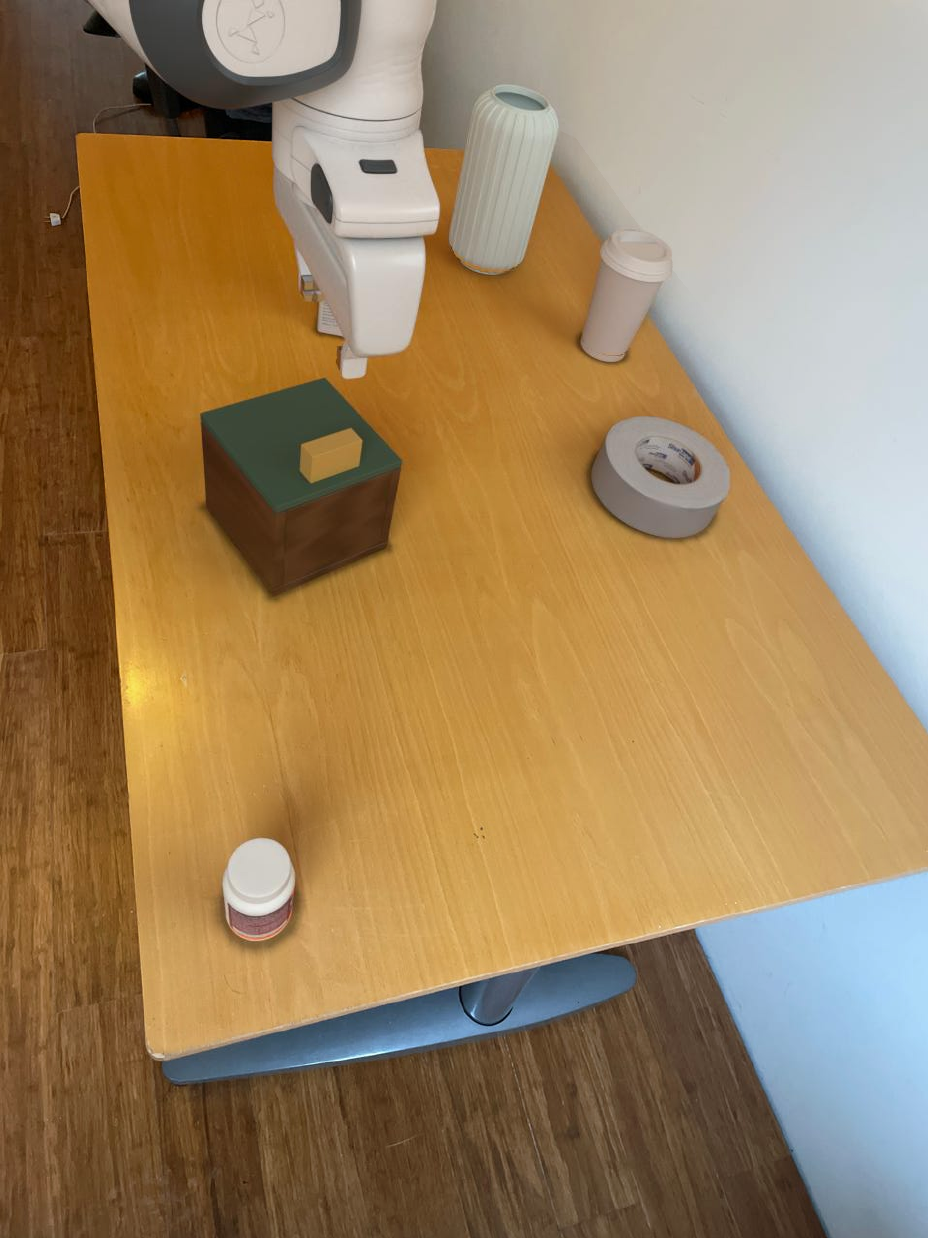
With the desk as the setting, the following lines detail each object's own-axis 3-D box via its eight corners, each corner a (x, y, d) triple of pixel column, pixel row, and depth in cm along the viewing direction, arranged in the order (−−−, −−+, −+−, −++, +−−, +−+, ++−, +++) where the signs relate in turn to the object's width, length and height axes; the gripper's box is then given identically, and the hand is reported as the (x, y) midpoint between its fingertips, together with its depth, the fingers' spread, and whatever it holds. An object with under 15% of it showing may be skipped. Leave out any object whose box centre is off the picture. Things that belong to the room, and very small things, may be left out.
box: (273, 596, 76) (275, 514, 68) (206, 507, 81) (200, 421, 73) (386, 548, 83) (401, 467, 74) (317, 468, 88) (324, 384, 79)
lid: (275, 514, 68) (276, 480, 65) (200, 420, 73) (197, 385, 70) (401, 467, 74) (407, 434, 71) (324, 383, 79) (327, 350, 76)
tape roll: (727, 485, 101) (747, 454, 97) (692, 559, 91) (711, 528, 87) (616, 430, 103) (631, 397, 99) (570, 496, 93) (584, 463, 89)
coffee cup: (634, 336, 117) (675, 235, 106) (636, 375, 111) (680, 273, 100) (569, 320, 116) (604, 217, 105) (569, 359, 110) (605, 254, 99)
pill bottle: (304, 920, 59) (310, 879, 53) (242, 955, 57) (241, 917, 51) (274, 864, 61) (276, 819, 55) (214, 897, 59) (208, 853, 53)
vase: (430, 256, 119) (460, 89, 102) (470, 231, 126) (504, 70, 109) (497, 291, 117) (538, 126, 100) (533, 263, 124) (578, 104, 107)
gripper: (250, 62, 54) (252, 258, 65) (347, 226, 44) (330, 425, 55) (341, 68, 57) (328, 255, 68) (453, 223, 47) (417, 415, 57)
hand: (330, 333), depth 61 cm, fingers open, 8 cm apart
